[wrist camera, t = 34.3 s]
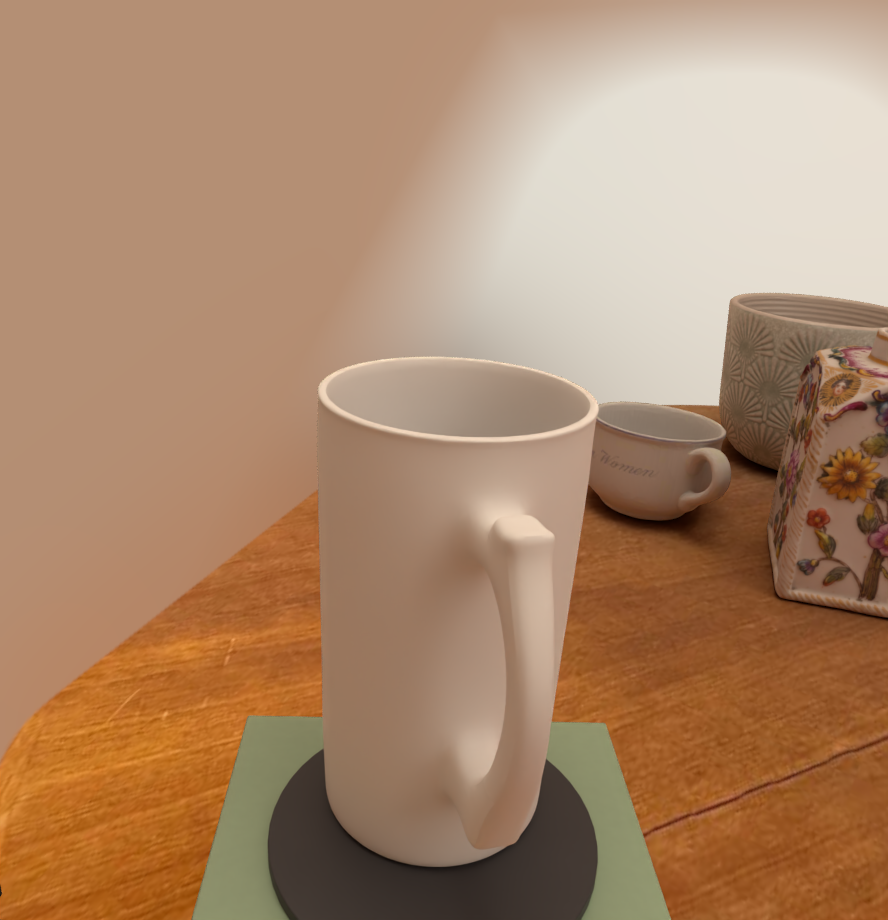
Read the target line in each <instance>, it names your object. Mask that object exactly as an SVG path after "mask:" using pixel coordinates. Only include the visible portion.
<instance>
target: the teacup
mask: <svg viewBox="0 0 888 920" xmlns="http://www.w3.org/2000/svg"><path fill="white" fill-rule="evenodd" d="M598 406H599V412H598V415H597V419H596V424H595V431H594V439H593V447H592V456H591V465H590V474H589V481H588V483H589V485H590V486H591V488H592V489H593V490H594V491H595V492H596V493H597V494H598V495H599V496H600V498H601V500H602V501H603V502H604V503H605V504H606V505H607V506H608V507H610V508H611V509H613V510H615V511H617V512H619V513H621V514H625V515H628V516H631V517H635V518H639V519H646V520H671V519H675V518H678V517H680V516H682V515H683V514H684V513H686V512H689V511H692V510H694V509H695V508H697V507H698V506H699V505H701V504H706V503H710V502H712V501H715V500H717V499H719V498H720V497H721V496H723V494H724V493H725V492H726V490H727V489H728V487H729V484H730V479H731V468H730V464H729V461H728V459H727V457H726V456H725V455H724V454H723V453H722V452H721V447H722V442H723V440H724V439H725V437H726V430H725V429H724V427H722V426H721V425H720V424H719V423H717V422H715V421H714V420H712V419H709V418H707V417H704V416H702V415H699V414H696V413H692V412H689V411H686V410H682V409H677V408H673V407H668V406H663V405H656V404H649V403H637V402H608V403H603V404H600V405H598Z"/></svg>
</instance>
